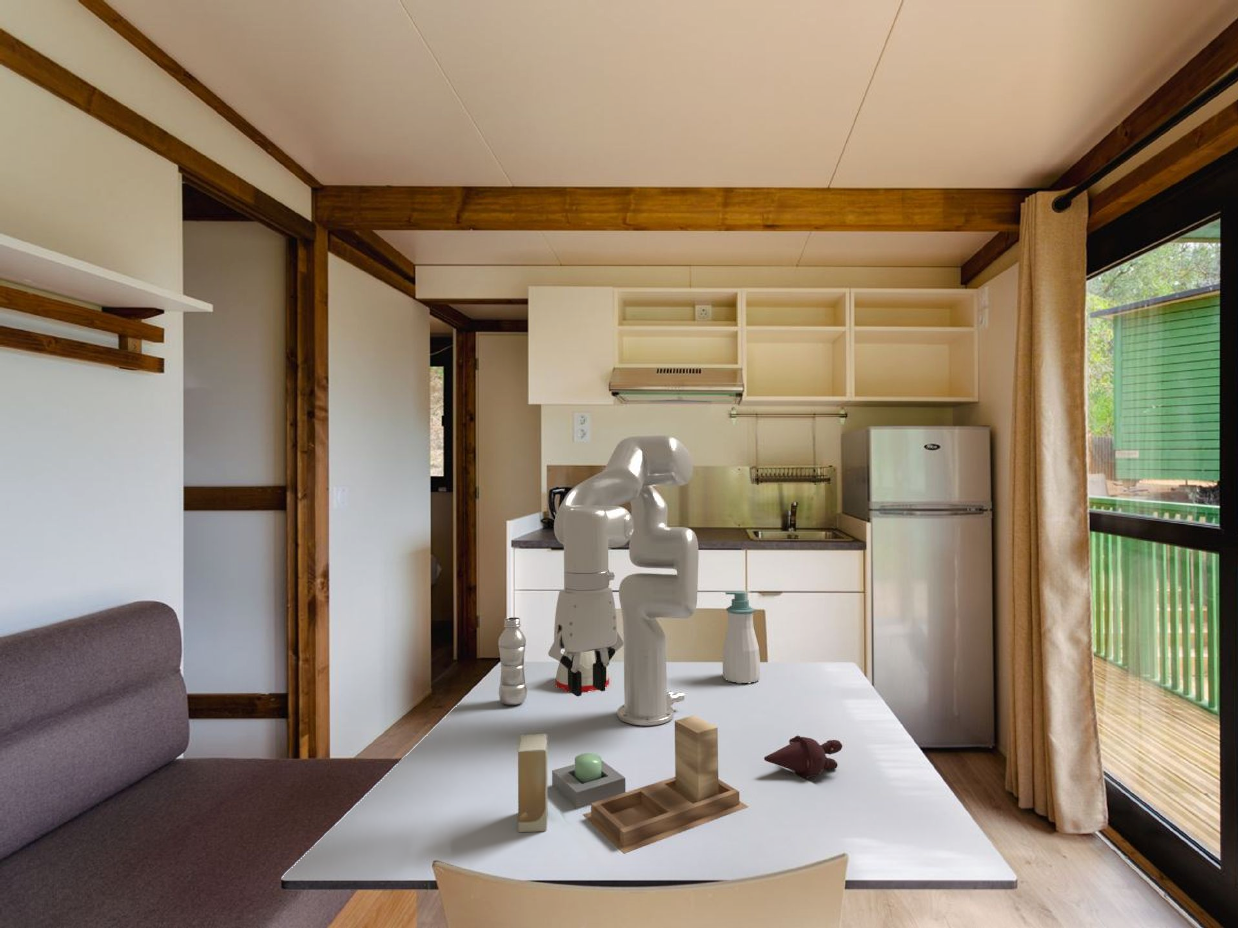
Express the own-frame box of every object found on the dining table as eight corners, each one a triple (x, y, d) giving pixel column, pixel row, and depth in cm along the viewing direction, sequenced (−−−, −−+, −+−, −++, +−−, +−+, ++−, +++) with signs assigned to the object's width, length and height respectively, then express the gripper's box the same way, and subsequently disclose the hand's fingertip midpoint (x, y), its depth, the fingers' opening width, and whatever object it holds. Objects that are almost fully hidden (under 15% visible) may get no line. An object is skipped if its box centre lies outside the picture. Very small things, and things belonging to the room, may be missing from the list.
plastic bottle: (521, 708, 144) (521, 622, 144) (494, 707, 145) (493, 621, 146) (530, 699, 150) (530, 616, 151) (504, 697, 151) (504, 615, 152)
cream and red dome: (552, 678, 167) (552, 622, 168) (602, 673, 170) (602, 618, 171) (560, 694, 153) (560, 633, 154) (614, 689, 157) (613, 630, 157)
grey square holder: (598, 777, 109) (598, 757, 109) (625, 799, 102) (625, 777, 102) (552, 791, 105) (552, 770, 105) (576, 815, 97) (576, 792, 97)
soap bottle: (721, 673, 170) (720, 589, 170) (758, 673, 169) (756, 589, 169) (724, 684, 160) (722, 595, 161) (762, 685, 159) (761, 595, 160)
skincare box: (520, 811, 98) (520, 733, 99) (548, 809, 99) (547, 732, 99) (517, 834, 92) (517, 750, 92) (546, 832, 92) (546, 748, 93)
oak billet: (695, 788, 103) (693, 715, 103) (718, 804, 98) (717, 727, 98) (675, 795, 101) (674, 720, 101) (698, 811, 96) (697, 732, 96)
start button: (593, 771, 106) (593, 750, 106) (606, 781, 102) (606, 760, 103) (570, 778, 104) (570, 756, 104) (582, 788, 100) (582, 766, 100)
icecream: (778, 754, 103) (855, 751, 107) (758, 727, 110) (831, 725, 114) (771, 791, 105) (847, 786, 109) (751, 761, 112) (824, 758, 116)
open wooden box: (700, 782, 107) (699, 764, 107) (748, 812, 97) (748, 793, 97) (582, 820, 95) (582, 801, 95) (624, 860, 85) (624, 838, 85)
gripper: (617, 574, 112) (618, 677, 111) (531, 583, 103) (532, 694, 103) (639, 579, 106) (641, 688, 105) (550, 589, 97) (551, 708, 96)
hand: (587, 690), depth 104 cm, fingers open, 3 cm apart
